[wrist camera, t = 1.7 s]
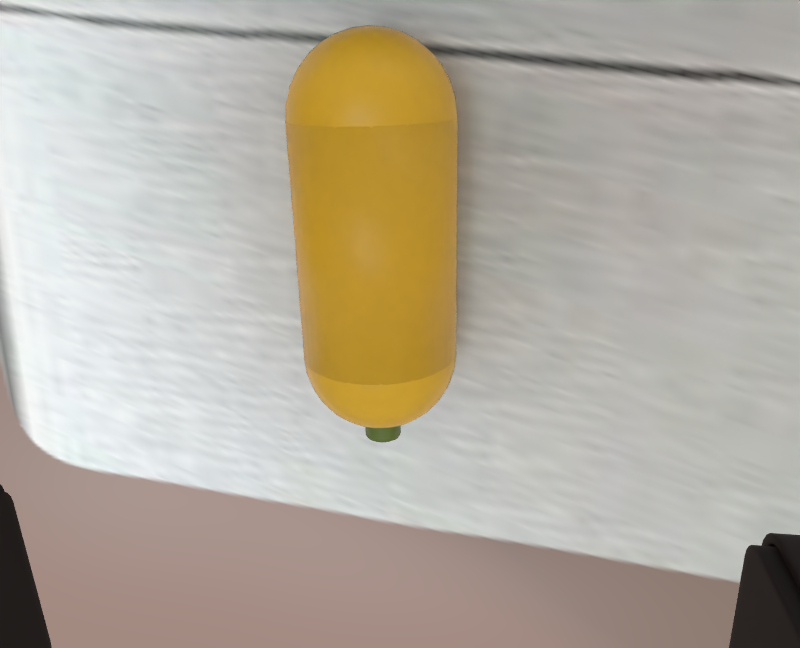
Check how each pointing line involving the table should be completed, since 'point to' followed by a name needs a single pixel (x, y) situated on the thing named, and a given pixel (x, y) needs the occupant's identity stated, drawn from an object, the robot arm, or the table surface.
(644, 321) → the table surface
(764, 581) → the robot arm
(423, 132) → the squash
